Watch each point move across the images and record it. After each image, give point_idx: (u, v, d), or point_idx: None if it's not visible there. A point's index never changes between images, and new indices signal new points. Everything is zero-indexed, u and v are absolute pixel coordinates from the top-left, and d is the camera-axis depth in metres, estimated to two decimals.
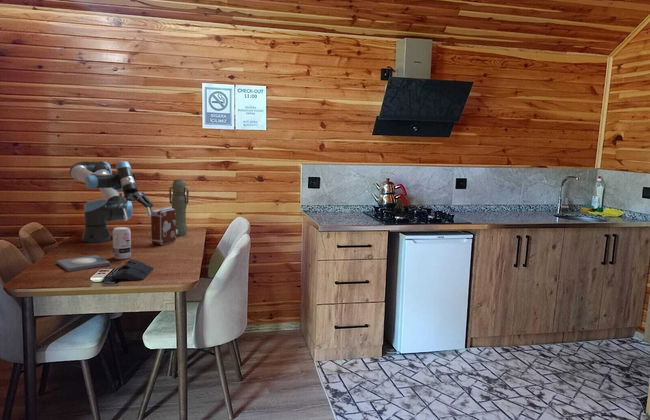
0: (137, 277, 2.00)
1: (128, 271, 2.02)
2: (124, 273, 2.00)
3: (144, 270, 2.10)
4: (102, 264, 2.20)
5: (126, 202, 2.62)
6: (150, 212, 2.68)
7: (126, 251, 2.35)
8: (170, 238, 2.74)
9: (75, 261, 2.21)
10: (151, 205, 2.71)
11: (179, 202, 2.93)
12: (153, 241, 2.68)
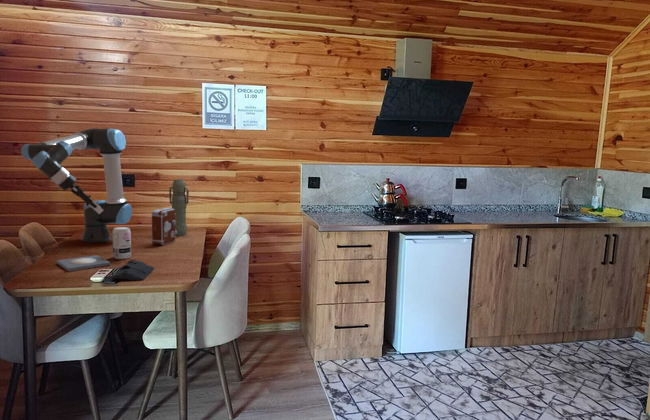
0: (137, 277, 2.00)
1: (128, 271, 2.02)
2: (124, 273, 2.00)
3: (145, 270, 2.10)
4: (102, 264, 2.20)
5: None
6: (94, 210, 2.23)
7: (126, 251, 2.35)
8: (170, 238, 2.74)
9: (75, 261, 2.21)
10: (87, 203, 2.19)
11: (179, 202, 2.93)
12: (154, 241, 2.68)
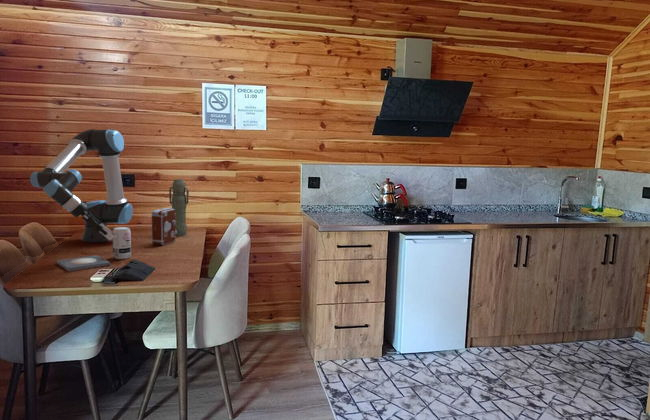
0: (137, 277, 2.00)
1: (129, 271, 2.02)
2: (124, 273, 2.00)
3: (145, 270, 2.10)
4: (102, 264, 2.20)
5: None
6: (105, 236, 2.25)
7: (126, 251, 2.35)
8: (170, 238, 2.74)
9: (75, 261, 2.21)
10: None
11: (179, 202, 2.93)
12: (154, 241, 2.68)
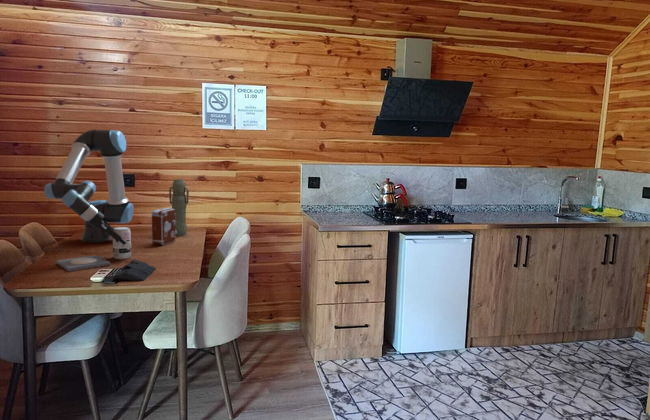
0: (137, 277, 2.00)
1: (129, 271, 2.02)
2: (125, 273, 1.99)
3: (146, 270, 2.09)
4: (102, 264, 2.20)
5: None
6: None
7: (126, 251, 2.35)
8: (170, 238, 2.74)
9: (75, 261, 2.21)
10: None
11: (179, 202, 2.93)
12: (154, 241, 2.68)
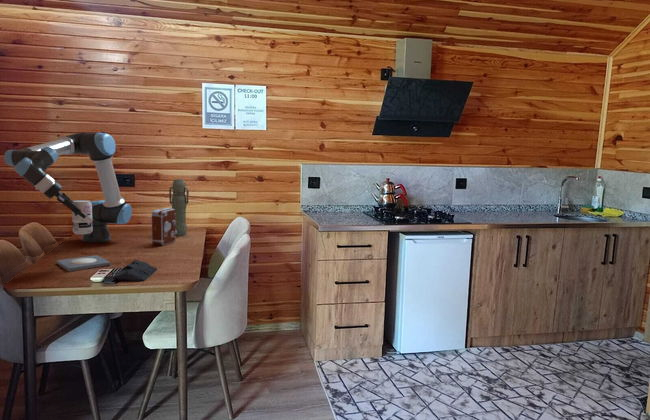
0: (138, 278, 1.99)
1: (130, 271, 2.01)
2: (125, 273, 1.99)
3: (147, 271, 2.09)
4: (102, 264, 2.20)
5: None
6: None
7: (86, 226, 2.18)
8: (170, 238, 2.74)
9: (75, 261, 2.21)
10: None
11: (179, 202, 2.93)
12: (154, 241, 2.68)
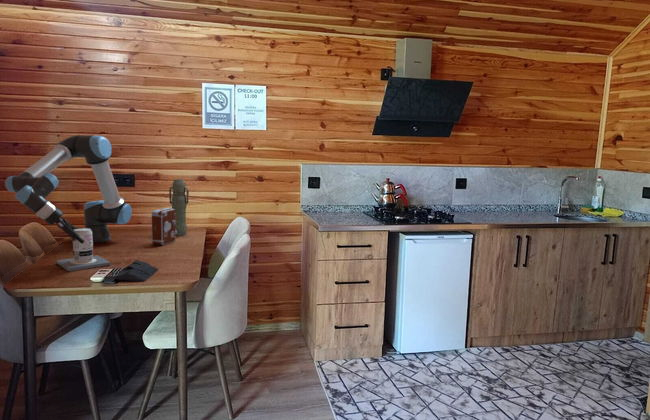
0: (139, 278, 1.99)
1: (130, 272, 2.01)
2: (126, 274, 1.99)
3: (147, 271, 2.09)
4: (102, 264, 2.20)
5: None
6: None
7: (87, 254, 2.19)
8: (170, 238, 2.74)
9: None
10: None
11: (179, 202, 2.93)
12: (154, 241, 2.68)
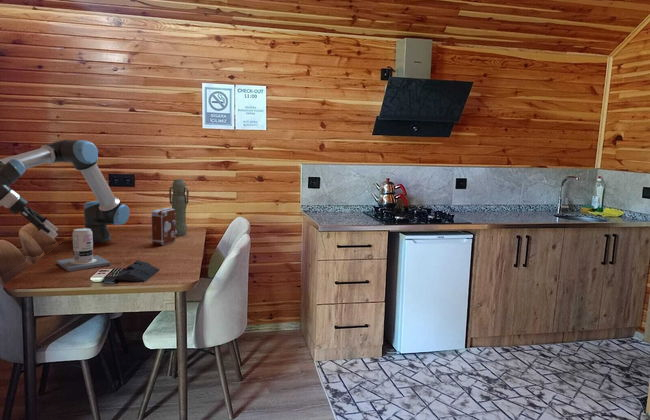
0: (139, 278, 1.98)
1: (131, 272, 2.01)
2: (126, 274, 1.98)
3: (148, 271, 2.08)
4: (102, 264, 2.20)
5: None
6: None
7: (87, 254, 2.19)
8: (170, 238, 2.74)
9: None
10: None
11: (179, 202, 2.93)
12: (154, 241, 2.68)
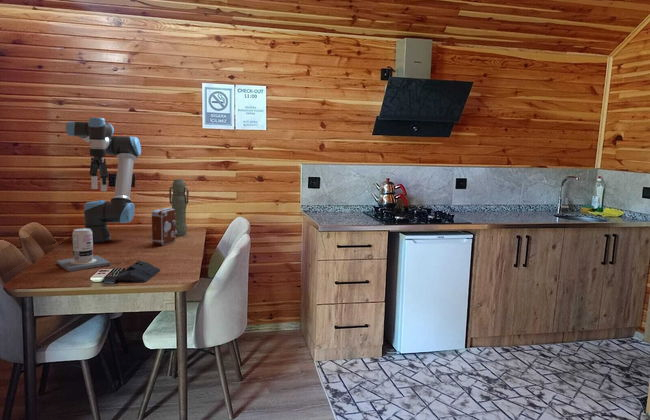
0: (140, 279, 1.98)
1: (132, 272, 2.00)
2: (127, 274, 1.98)
3: (149, 272, 2.08)
4: (102, 264, 2.20)
5: (93, 169, 2.45)
6: (101, 185, 2.37)
7: (87, 254, 2.19)
8: (170, 238, 2.74)
9: None
10: (103, 176, 2.35)
11: (179, 202, 2.93)
12: (154, 241, 2.68)
